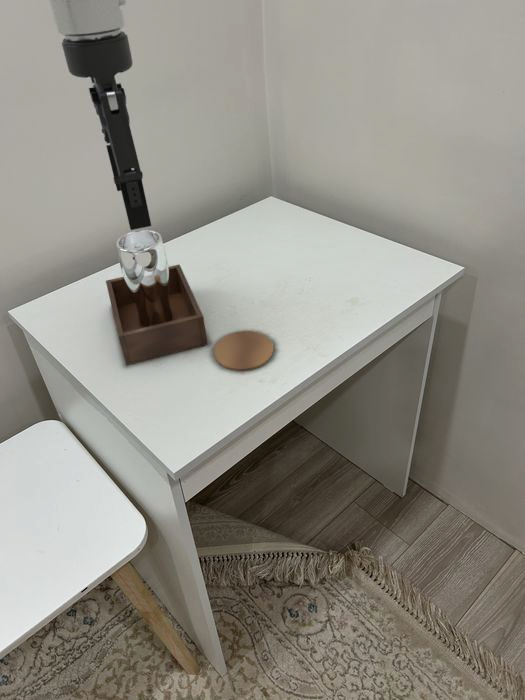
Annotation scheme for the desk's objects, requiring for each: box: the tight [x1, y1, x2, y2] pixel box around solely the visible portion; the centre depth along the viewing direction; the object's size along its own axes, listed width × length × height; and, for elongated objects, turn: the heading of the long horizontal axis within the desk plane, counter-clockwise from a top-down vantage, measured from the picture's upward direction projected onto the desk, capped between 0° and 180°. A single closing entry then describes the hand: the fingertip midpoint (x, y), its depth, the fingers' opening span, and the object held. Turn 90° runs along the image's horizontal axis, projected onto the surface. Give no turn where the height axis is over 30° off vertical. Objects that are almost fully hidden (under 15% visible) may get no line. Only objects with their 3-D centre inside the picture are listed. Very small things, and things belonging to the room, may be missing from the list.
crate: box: [105, 264, 209, 366], centre depth 87 cm, size 13×17×5 cm
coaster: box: [213, 330, 274, 372], centre depth 82 cm, size 9×9×1 cm
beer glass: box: [115, 229, 176, 329], centre depth 84 cm, size 7×7×15 cm
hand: (133, 206), depth 76 cm, fingers open, 13 cm apart
